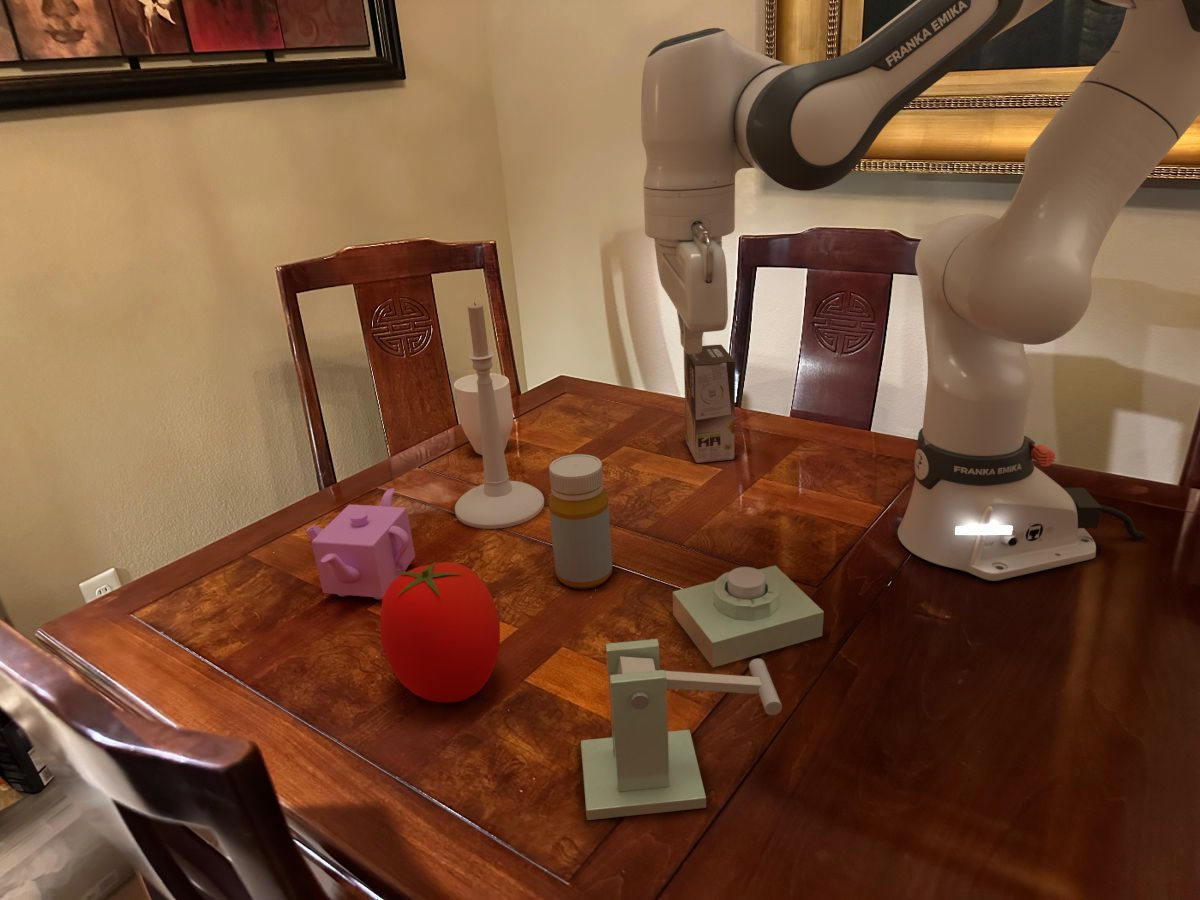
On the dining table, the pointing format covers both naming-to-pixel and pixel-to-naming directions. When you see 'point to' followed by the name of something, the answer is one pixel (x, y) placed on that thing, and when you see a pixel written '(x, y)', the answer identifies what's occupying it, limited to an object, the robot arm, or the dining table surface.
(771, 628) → the push button base
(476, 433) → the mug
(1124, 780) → the dining table surface
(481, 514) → the candlestick
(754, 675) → the flush lever
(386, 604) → the tomato
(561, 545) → the bottle
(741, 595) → the white push button
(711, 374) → the coffee box
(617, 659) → the lever bracket
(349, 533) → the teapot
